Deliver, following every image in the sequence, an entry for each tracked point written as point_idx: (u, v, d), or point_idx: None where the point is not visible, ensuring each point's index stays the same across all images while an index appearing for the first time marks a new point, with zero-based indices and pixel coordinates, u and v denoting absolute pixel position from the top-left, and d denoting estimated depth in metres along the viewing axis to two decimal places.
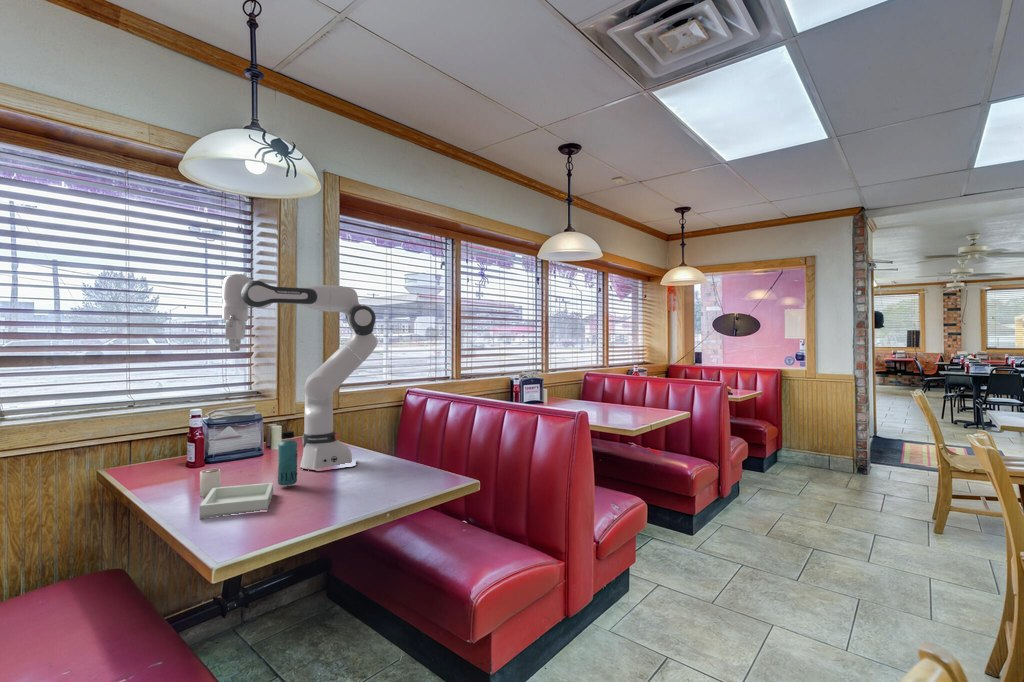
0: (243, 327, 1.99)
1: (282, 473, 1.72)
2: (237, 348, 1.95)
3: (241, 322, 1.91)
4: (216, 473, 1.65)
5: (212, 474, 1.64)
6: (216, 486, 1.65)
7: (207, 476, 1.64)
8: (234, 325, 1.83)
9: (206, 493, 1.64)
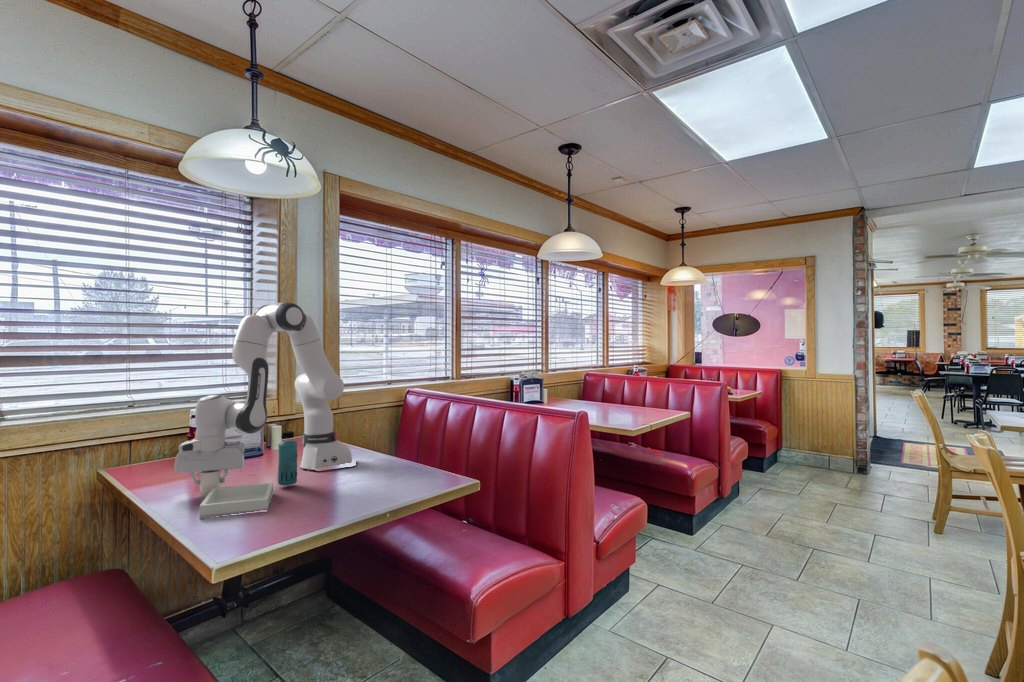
0: None
1: (282, 473, 1.72)
2: (199, 481, 1.66)
3: None
4: (216, 473, 1.65)
5: (212, 474, 1.64)
6: (216, 486, 1.65)
7: (207, 476, 1.64)
8: None
9: (206, 493, 1.64)
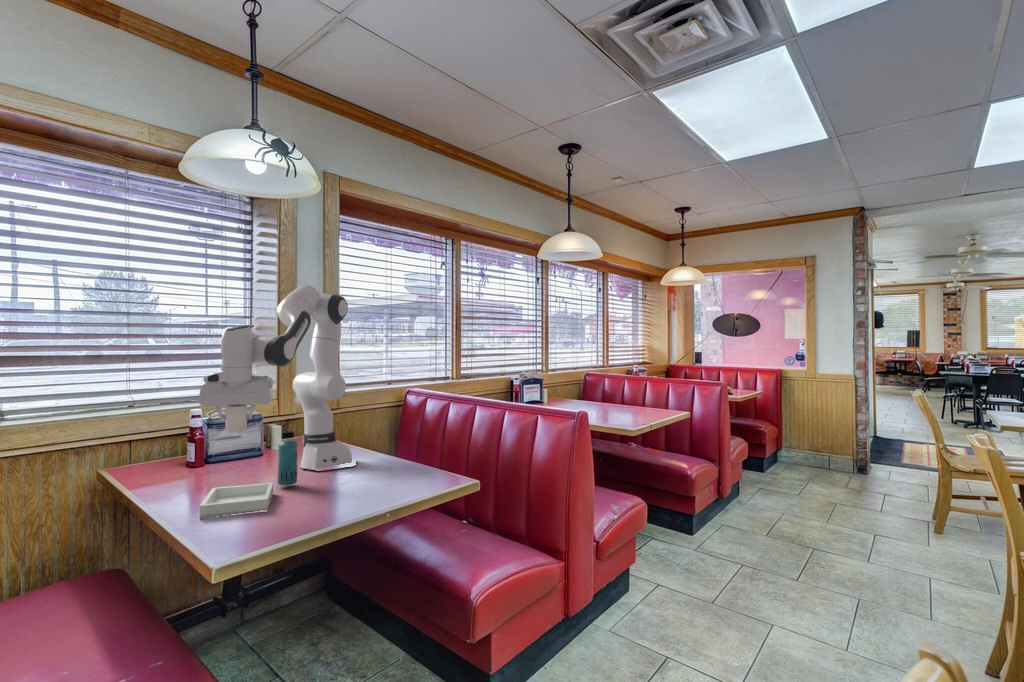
0: None
1: (282, 473, 1.72)
2: None
3: None
4: (242, 407, 1.55)
5: (238, 408, 1.54)
6: (242, 421, 1.55)
7: (233, 410, 1.53)
8: None
9: (232, 428, 1.53)
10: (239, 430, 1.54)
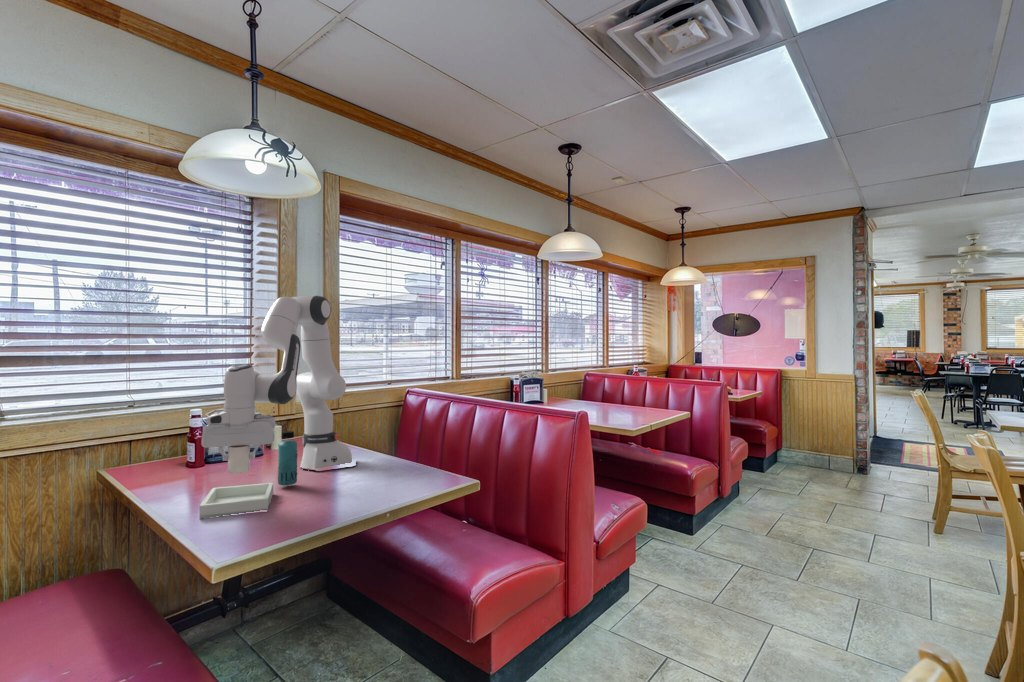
0: None
1: (282, 473, 1.72)
2: None
3: None
4: (245, 448, 1.54)
5: (241, 449, 1.53)
6: (245, 462, 1.54)
7: (236, 451, 1.52)
8: None
9: (235, 469, 1.52)
10: (242, 471, 1.53)
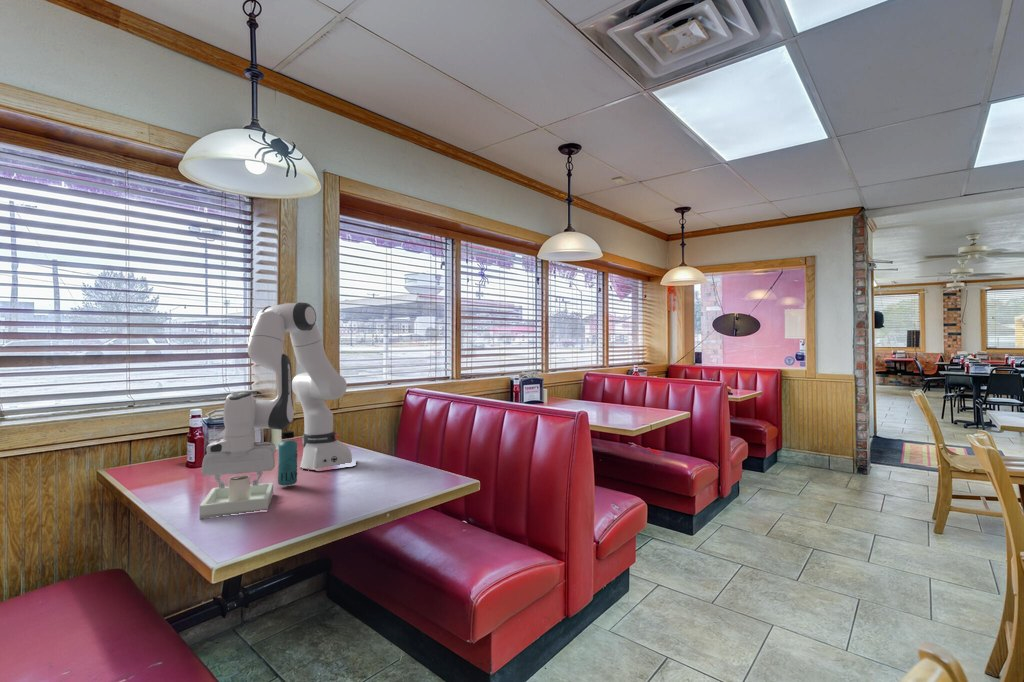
0: None
1: (282, 473, 1.72)
2: (224, 485, 1.54)
3: None
4: (246, 480, 1.54)
5: (242, 481, 1.53)
6: (246, 494, 1.54)
7: (236, 483, 1.53)
8: None
9: None
10: None
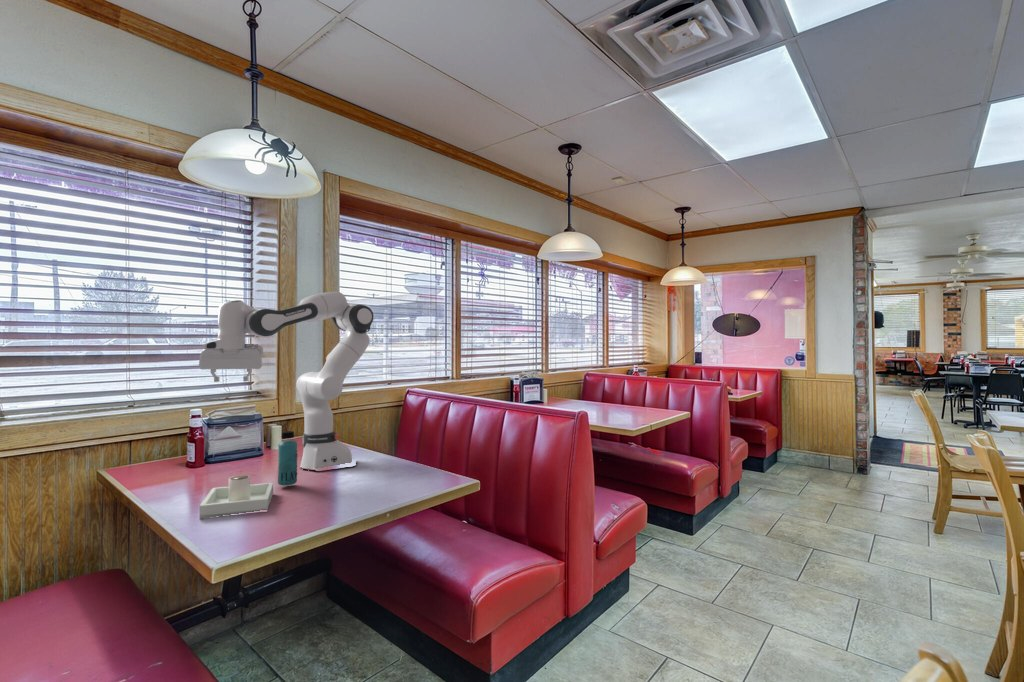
0: None
1: (282, 473, 1.72)
2: (218, 379, 1.79)
3: None
4: (246, 480, 1.54)
5: (242, 481, 1.53)
6: (246, 494, 1.54)
7: (236, 483, 1.53)
8: None
9: None
10: None
